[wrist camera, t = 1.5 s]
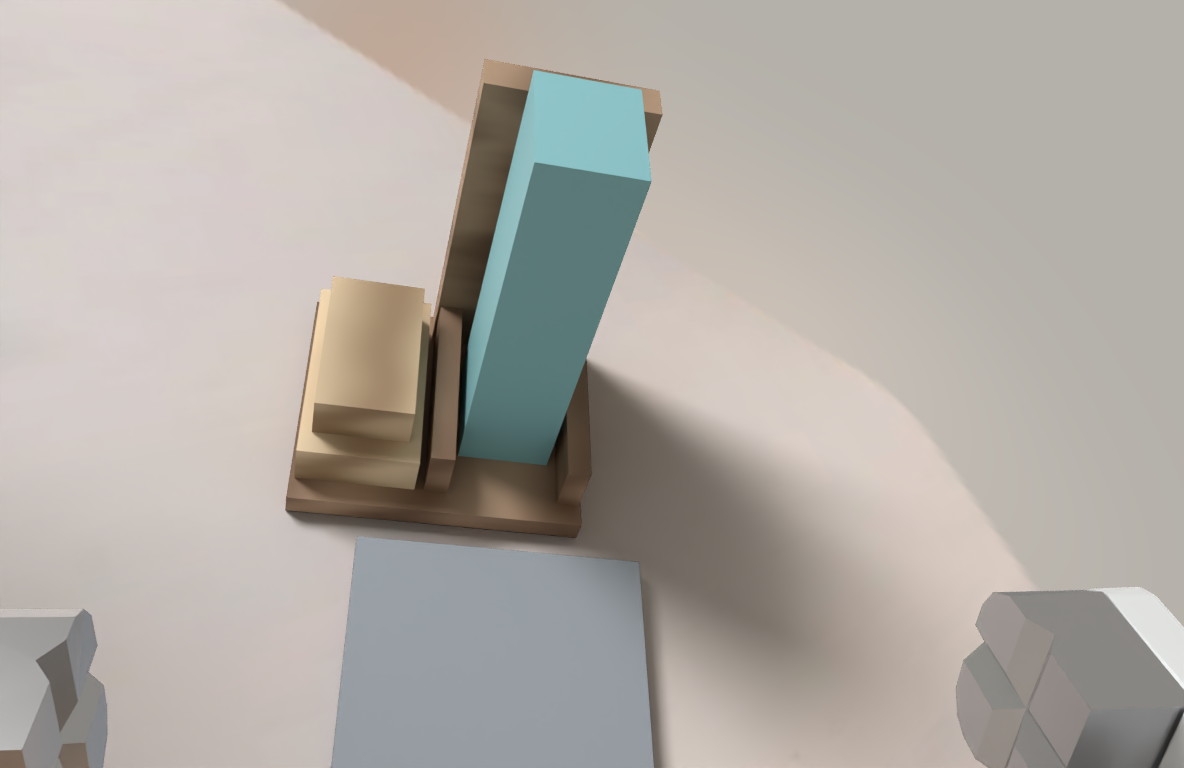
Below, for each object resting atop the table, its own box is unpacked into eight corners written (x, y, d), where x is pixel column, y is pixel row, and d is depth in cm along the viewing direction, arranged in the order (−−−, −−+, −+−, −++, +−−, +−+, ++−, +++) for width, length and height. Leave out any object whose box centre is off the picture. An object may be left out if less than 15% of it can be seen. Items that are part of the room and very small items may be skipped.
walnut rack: (285, 510, 47) (301, 237, 35) (316, 315, 54) (338, 32, 42) (575, 537, 49) (684, 293, 37) (569, 348, 56) (659, 91, 44)
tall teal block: (458, 455, 49) (534, 162, 37) (461, 368, 52) (533, 70, 40) (546, 465, 50) (651, 181, 37) (545, 378, 53) (641, 89, 41)
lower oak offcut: (294, 477, 47) (296, 450, 45) (319, 318, 52) (321, 288, 51) (414, 489, 48) (419, 463, 46) (425, 331, 53) (431, 303, 52)
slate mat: (322, 848, 39) (324, 839, 38) (355, 548, 46) (357, 536, 46) (652, 859, 41) (660, 850, 41) (632, 572, 49) (639, 561, 48)
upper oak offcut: (311, 431, 46) (314, 402, 44) (330, 306, 50) (333, 276, 49) (409, 442, 47) (414, 414, 45) (419, 318, 51) (424, 288, 50)
